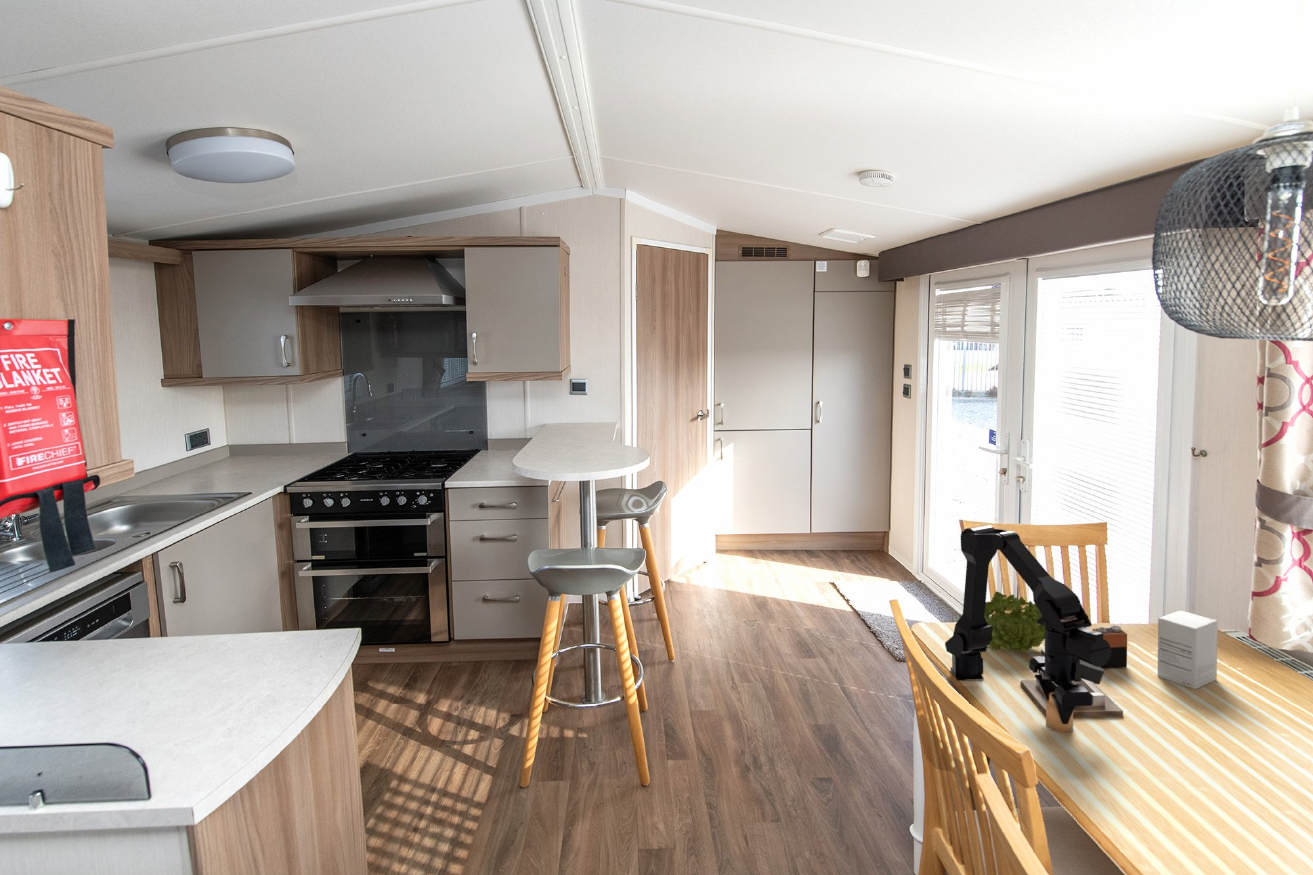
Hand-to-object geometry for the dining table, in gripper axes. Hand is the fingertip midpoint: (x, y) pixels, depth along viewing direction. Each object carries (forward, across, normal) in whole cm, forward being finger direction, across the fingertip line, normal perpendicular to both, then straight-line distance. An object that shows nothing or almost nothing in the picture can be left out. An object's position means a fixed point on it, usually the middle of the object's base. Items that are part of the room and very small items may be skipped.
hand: (1059, 717), depth 167 cm
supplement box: (+2, +22, -38) cm, 44 cm away
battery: (+2, +30, -24) cm, 38 cm away
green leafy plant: (+2, +41, -4) cm, 41 cm away
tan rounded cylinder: (+2, 0, 0) cm, 2 cm away
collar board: (+2, +12, -7) cm, 14 cm away
